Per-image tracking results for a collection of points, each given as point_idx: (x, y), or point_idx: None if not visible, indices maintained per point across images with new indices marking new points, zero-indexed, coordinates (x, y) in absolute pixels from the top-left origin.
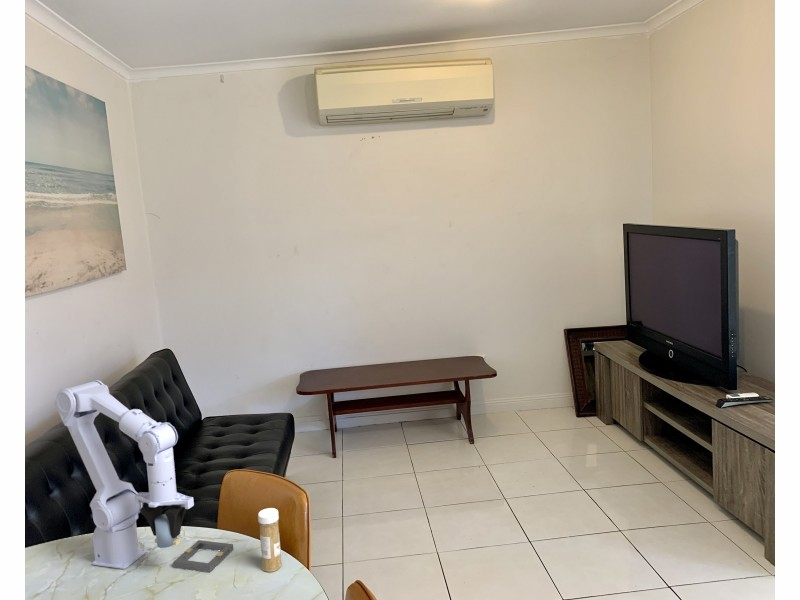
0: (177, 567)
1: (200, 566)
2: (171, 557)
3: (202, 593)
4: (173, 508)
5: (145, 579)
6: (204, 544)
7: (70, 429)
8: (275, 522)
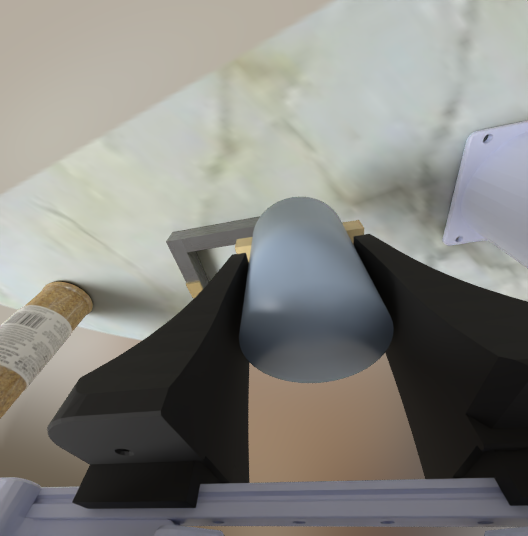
0: None
1: (197, 234)
2: None
3: (88, 144)
4: (160, 459)
5: (339, 120)
6: None
7: None
8: None
